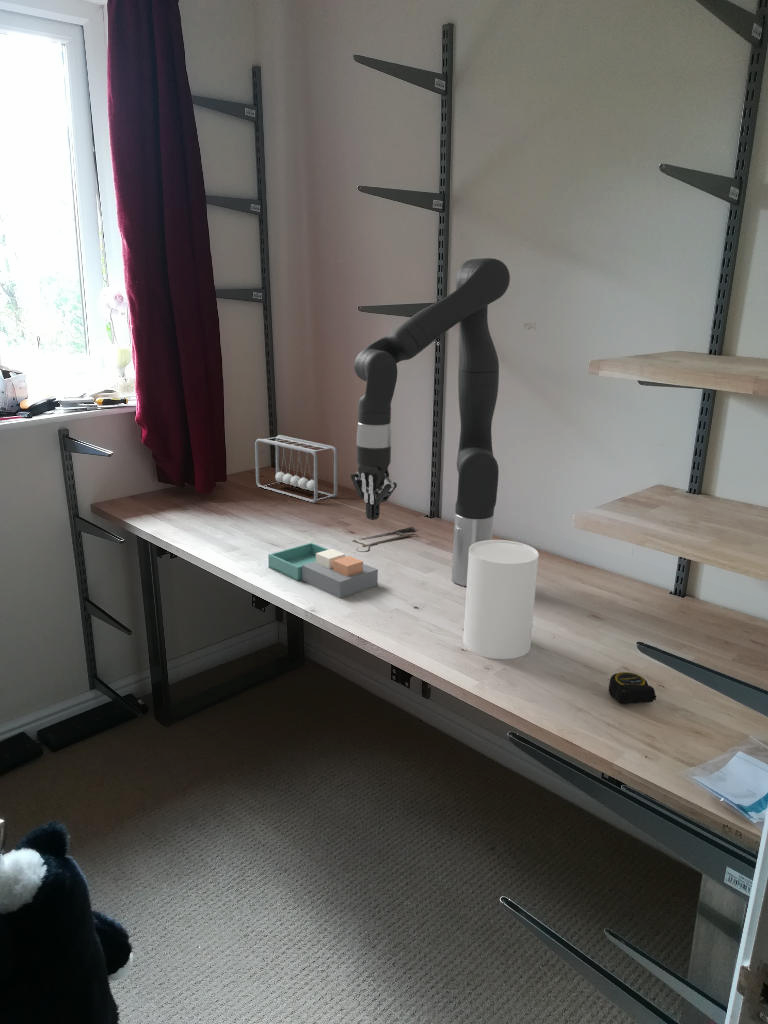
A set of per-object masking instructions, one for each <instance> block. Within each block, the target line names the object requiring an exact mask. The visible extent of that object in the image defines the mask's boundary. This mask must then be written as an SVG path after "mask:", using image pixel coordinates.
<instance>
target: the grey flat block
mask: <svg viewBox="0 0 768 1024" xmlns="http://www.w3.org/2000/svg"><path fill="white" fill-rule="evenodd" d="M345 557H347V556H346V555H345ZM378 572H379V570H378V568H375V567H373V566H370V565H368V564H366V563H363V571H362V572H359V573H356V574H353V575H350V576H345V575H343V574H340V573H338V572H336V571H333V568H330V569H329V568H326V567H324V566H322V565H319V564H317V563H316V561H314V562H311V563H308V564H304V565H302V580H301V581H302V582H303V583H306V584H309V585H311V586H313V587H315V588H318V589H319V590H321V591H324V592H326V593H328V594H329V595H333V596H334V597H337V598H339V599H341V598H344V597H347V596H350V595H353V594H355V593H358V592H362V591H363V590H367V589H370V588H373V587H376V586H378V583H379V582H378V579H379V578H378V576H379V573H378Z"/></svg>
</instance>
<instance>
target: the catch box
mask: <svg viewBox="0 0 768 1024" xmlns="http://www.w3.org/2000/svg"><path fill="white" fill-rule="evenodd" d="M329 549H330V548H326V547H324V546H321V545H319V544H317V543H314V542H308V543H306V544H305V543H304V544H302V545H298V546H294V547H291V548H287V549H284V550H283V549H282V550H280V551H275V552H273V553H269V554H268V557H267V559H268V568H269V569H271V570H273V571H275V572H277V573H280V574H282V575H283V576H285V577H288V578H290V579H293V580H295V581H296V582H300V581H302V565H304V564H308V563H311V562H314V561H316V553H319V552H322V551H326V550H329Z"/></svg>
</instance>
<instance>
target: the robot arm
mask: <svg viewBox="0 0 768 1024" xmlns="http://www.w3.org/2000/svg"><path fill="white" fill-rule="evenodd" d="M455 279H456V280H455V290H454V291H452V292H451V293H450V294H448V295H447V296H446V297H443V298H442V299H440V300H438V301H436V302H434V303H432V304H431V305H429V306H427V307H425V308H423V309H421V310H420V311H417V312H416V313H415V314H414V315H412V316H411V317H409V318H407V320H406V321H404V322H402V324H400V325H399V326H398V327H397V328H396V329H395V330H393V331H392V332H391V333H389V334H386V335H385V336H383V337H381V338H380V339H377V340H376V341H374V342H372V343H371V344H369V345H368V346H366V347H365V348H363V349H362V350H361V351H360V352H359V353H358V355H357V356H356V358H355V360H354V363H353V364H354V365H353V370H354V372H355V375H357V377H358V378H359V379H360V380H361V381H364V382H366V385H365V393H364V394H363V395H362V396H361V397H359V400H358V411H357V416H358V417H357V419H358V420H357V429H356V464H357V465H358V468H357V471H356V472H355V473H352V474H350V479H351V482H352V484H353V486H354V488H355V490H356V492H357V495H358V497H359V499H363V500H364V503H365V515H366V519H368V520H370V521H374V520H378V519H379V517H380V508H381V507H380V505H381V503H385V502H387V501H388V500H389V499H390V496H391V495H392V494H393V493H394V491H395V490H396V488H397V487H398V486H397V485H398V484H397V482H395V481H394V482H392V480H391V478H390V472H389V470H388V469H389V465H390V464H391V462H392V461H391V460H392V459H391V457H392V427H391V426H392V425H391V422H392V421H391V419H392V414H391V413H392V401H393V397H394V394H395V389H396V384H397V381H398V365H397V364H398V363H401V362H403V361H408V360H411V359H414V358H415V357H416V356H417V355H419V354H420V353H421V352H422V351H424V350H425V349H426V348H427V347H429V346H430V345H431V344H432V343H433V342H435V341H436V340H437V339H438V338H439V337H441V336H442V335H443V334H445V333H446V332H448V331H449V330H451V329H452V328H453V327H454V326H455V325H457V324H458V367H457V368H458V369H457V370H458V372H457V374H458V376H457V378H458V379H457V381H458V385H457V387H458V390H457V391H458V407H459V417H460V419H459V420H460V433H459V434H460V435H459V443H458V452H457V458H456V470H457V473H458V479H457V480H458V481H457V482H458V484H457V497H456V502H455V506H454V507H455V511H454V526H453V527H454V528H453V546H452V564H451V567H452V568H451V581H452V582H453V583H455V584H457V585H459V586H462V587H467V573H468V556H469V547H470V546H471V545H472V544H474V543H476V542H480V541H485V540H493V530H494V529H493V528H494V527H493V526H494V515H495V514H494V513H495V507H496V504H497V496H498V485H499V475H500V474H499V464H498V461H497V459H496V458H495V456H494V452H493V441H492V440H493V438H492V437H493V436H492V424H493V418H494V414H495V409H496V404H497V401H498V400H497V399H498V395H499V394H498V392H499V383H500V381H499V378H500V370H499V369H500V363H499V356H498V352H497V350H496V346H495V345H494V342H493V339H492V336H491V331H490V329H489V323H488V320H489V319H488V312H489V311H488V305H490V304H491V303H494V302H495V301H498V300H499V299H501V298H502V297H503V296H504V295H505V293H506V292H507V290H508V288H509V286H510V281H511V275H510V271H509V269H508V267H507V265H506V263H504V262H503V261H502V260H499V259H497V258H490V257H484V258H472V259H469V260H466V261H465V262H463V263H462V265H460V267H459V269H458V271H457V274H456V277H455Z"/></svg>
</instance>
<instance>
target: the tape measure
mask: <svg viewBox="0 0 768 1024" xmlns="http://www.w3.org/2000/svg"><path fill="white" fill-rule="evenodd" d="M608 694H609V695H610V697H611V698H612V699H614V700H615V701H616V702H617V703H618V704H621V705H631V704H632V705H634V704H644V703H653V702H654V701H656V700H657V695H656V691H655V688H654V687H653V686H652V685H649V683H648V681H647V680H646V679H645V678H644V677H643V676H641V675H639V674H636V673H633V672H629V671H627V672H626V671H622V672H621V671H619V672H617V673H614V674H613V675H612V676H611V677H610V679H609V682H608Z"/></svg>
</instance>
